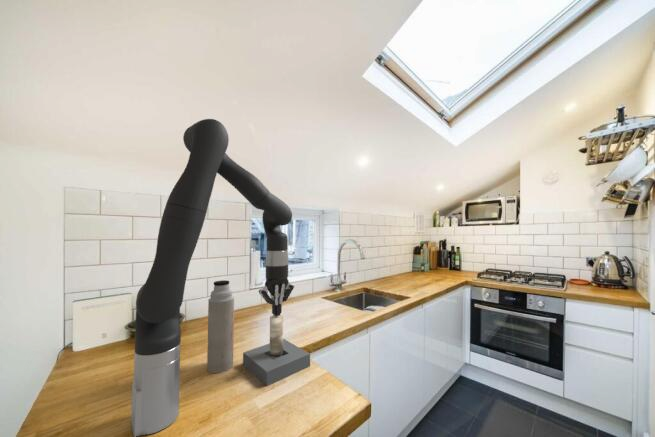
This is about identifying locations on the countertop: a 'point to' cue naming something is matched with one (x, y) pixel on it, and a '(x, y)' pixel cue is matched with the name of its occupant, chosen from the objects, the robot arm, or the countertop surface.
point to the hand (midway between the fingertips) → (276, 315)
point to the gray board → (275, 362)
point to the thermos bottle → (220, 328)
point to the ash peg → (276, 336)
